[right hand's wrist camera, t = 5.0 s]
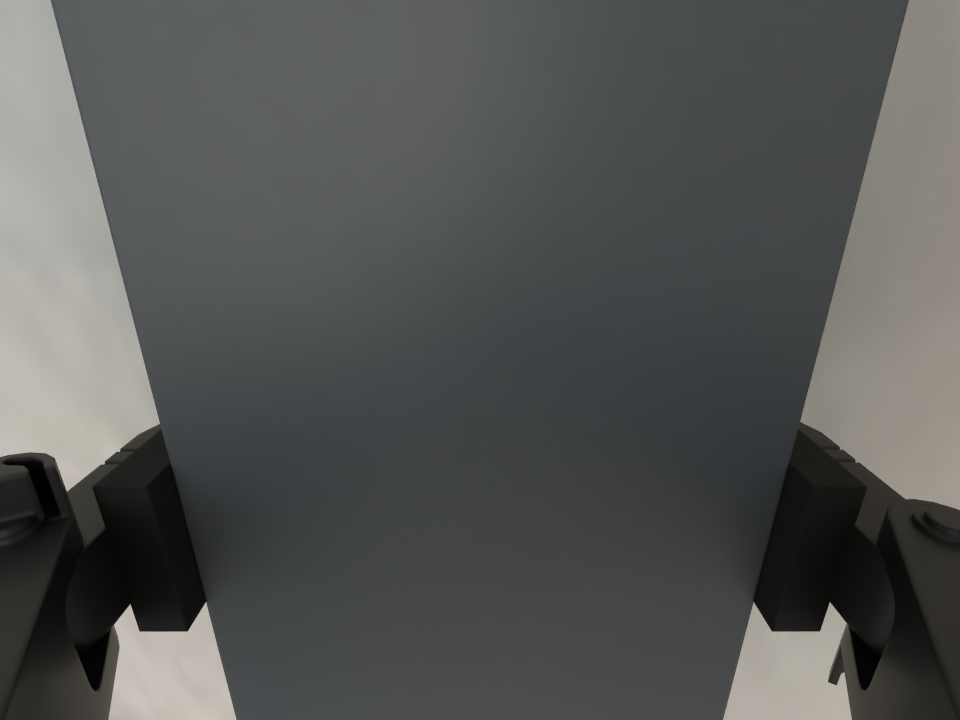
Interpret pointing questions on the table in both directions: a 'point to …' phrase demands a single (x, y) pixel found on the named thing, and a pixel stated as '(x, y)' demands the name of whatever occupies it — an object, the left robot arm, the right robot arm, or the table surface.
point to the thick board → (479, 326)
